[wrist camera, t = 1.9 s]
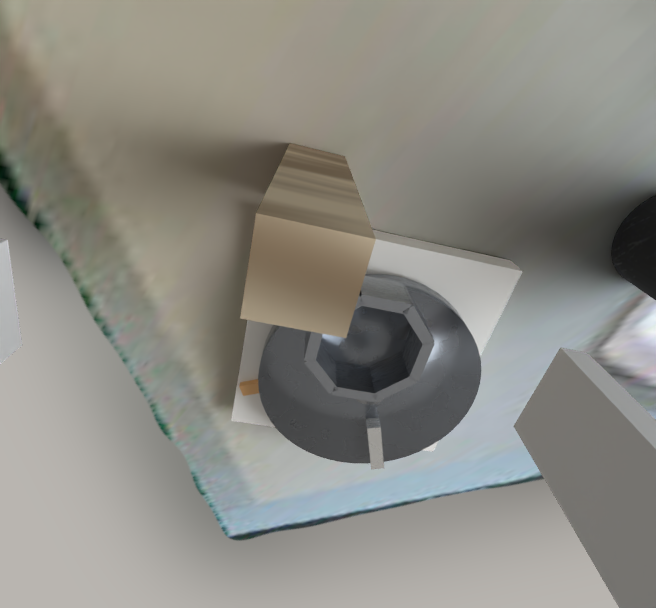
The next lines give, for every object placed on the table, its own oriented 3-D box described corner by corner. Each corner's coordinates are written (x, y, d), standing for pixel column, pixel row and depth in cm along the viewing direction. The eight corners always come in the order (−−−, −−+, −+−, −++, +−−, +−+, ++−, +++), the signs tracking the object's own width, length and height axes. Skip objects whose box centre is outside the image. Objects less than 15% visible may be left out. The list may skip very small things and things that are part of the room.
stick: (289, 143, 26) (256, 213, 12) (344, 156, 26) (375, 239, 12) (279, 198, 27) (240, 318, 13) (331, 210, 28) (346, 338, 14)
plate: (267, 206, 28) (263, 217, 25) (510, 260, 30) (526, 274, 28) (235, 404, 36) (229, 425, 34) (427, 434, 38) (434, 456, 36)
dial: (282, 246, 26) (276, 277, 22) (509, 294, 28) (543, 330, 24) (247, 428, 34) (237, 477, 30) (429, 456, 36) (444, 505, 32)
